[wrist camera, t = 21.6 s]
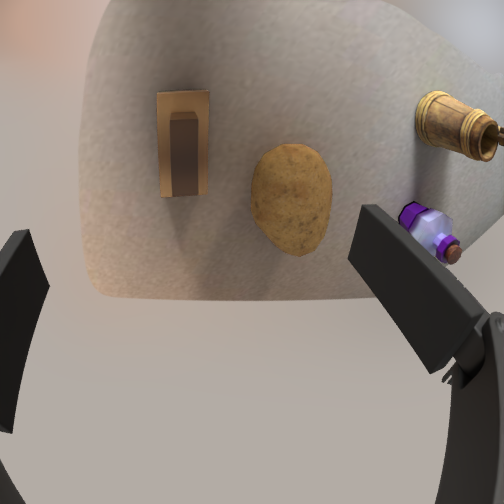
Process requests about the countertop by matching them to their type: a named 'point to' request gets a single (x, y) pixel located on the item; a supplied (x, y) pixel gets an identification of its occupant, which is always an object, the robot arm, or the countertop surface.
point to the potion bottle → (431, 231)
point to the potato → (292, 198)
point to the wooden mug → (457, 127)
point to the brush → (183, 142)
